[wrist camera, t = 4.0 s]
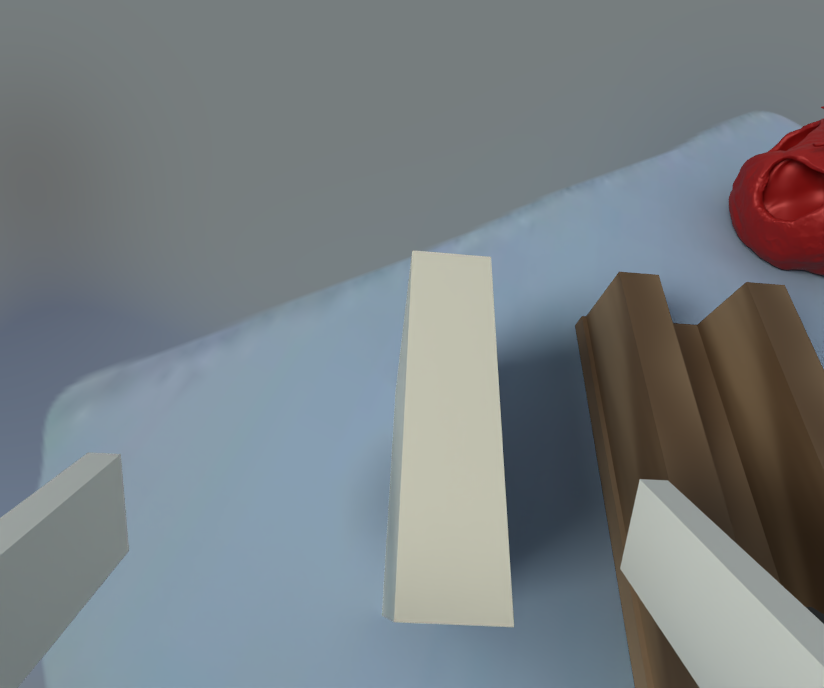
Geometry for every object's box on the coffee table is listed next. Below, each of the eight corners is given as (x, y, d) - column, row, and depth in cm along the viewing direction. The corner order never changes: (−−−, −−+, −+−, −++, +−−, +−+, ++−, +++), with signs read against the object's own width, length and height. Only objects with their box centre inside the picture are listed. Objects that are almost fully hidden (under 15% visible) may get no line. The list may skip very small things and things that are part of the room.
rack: (723, 336, 27) (789, 285, 23) (883, 791, 17) (1053, 852, 13) (575, 325, 27) (614, 271, 23) (651, 785, 17) (747, 846, 13)
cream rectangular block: (442, 396, 24) (490, 257, 15) (442, 618, 19) (513, 627, 10) (395, 392, 24) (412, 250, 14) (381, 615, 19) (393, 621, 9)
